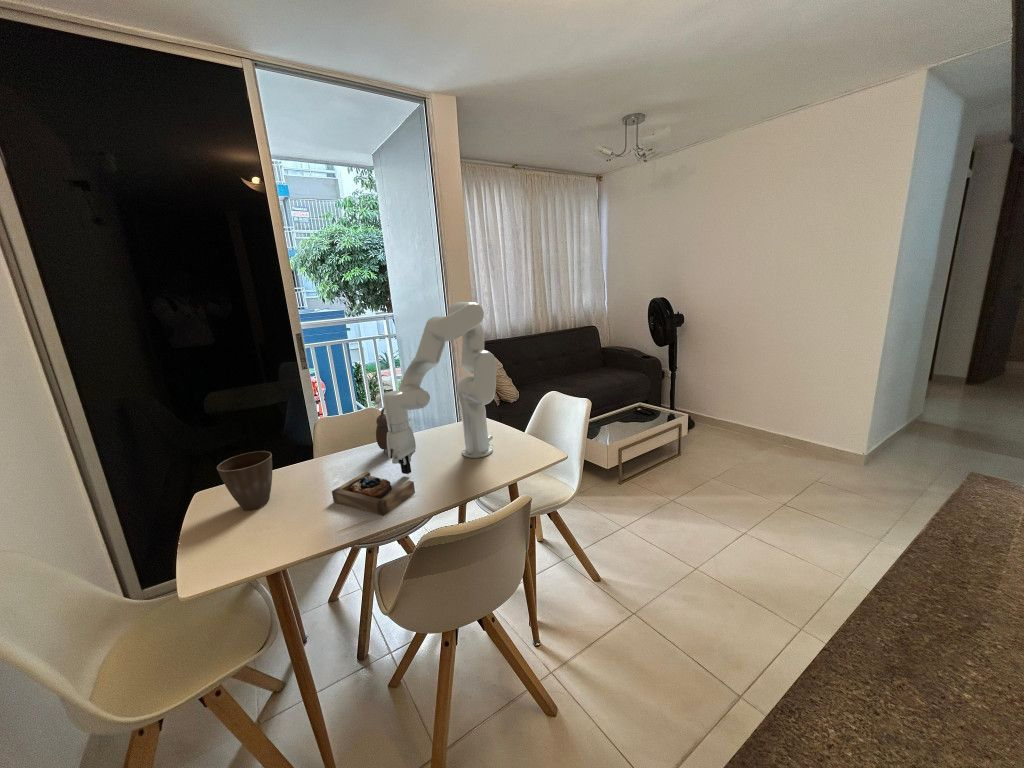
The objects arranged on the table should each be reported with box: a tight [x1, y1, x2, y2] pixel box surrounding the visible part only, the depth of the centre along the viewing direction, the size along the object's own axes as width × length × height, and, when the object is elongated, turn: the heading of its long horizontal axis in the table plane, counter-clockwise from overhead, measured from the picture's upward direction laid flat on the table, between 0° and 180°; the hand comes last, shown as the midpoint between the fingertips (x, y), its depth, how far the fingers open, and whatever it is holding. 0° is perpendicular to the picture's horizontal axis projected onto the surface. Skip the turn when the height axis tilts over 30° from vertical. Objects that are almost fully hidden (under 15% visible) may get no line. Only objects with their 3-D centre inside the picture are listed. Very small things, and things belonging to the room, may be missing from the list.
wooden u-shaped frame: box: [331, 471, 416, 516], centre depth 128 cm, size 14×22×4 cm, turn 63°
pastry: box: [350, 475, 393, 499], centre depth 131 cm, size 11×12×6 cm
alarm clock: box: [375, 406, 389, 454], centre depth 164 cm, size 15×7×20 cm, turn 171°
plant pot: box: [216, 450, 273, 511], centre depth 128 cm, size 15×15×16 cm
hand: (406, 472), depth 141 cm, fingers closed
